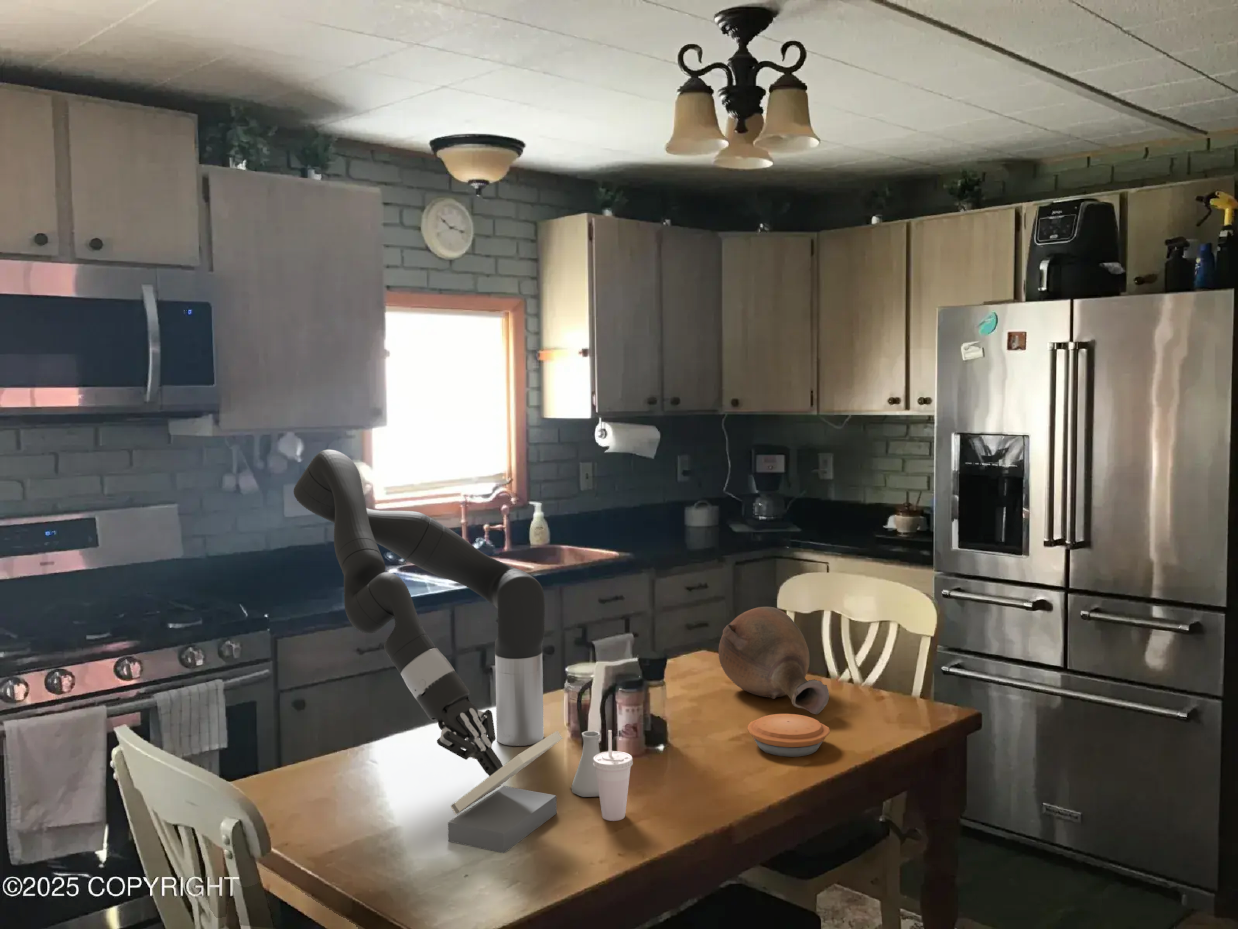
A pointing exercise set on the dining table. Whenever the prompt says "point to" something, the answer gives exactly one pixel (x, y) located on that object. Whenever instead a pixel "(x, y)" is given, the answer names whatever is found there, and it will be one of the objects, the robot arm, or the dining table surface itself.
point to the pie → (788, 734)
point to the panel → (506, 772)
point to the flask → (587, 767)
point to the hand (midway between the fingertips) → (497, 772)
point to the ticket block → (502, 819)
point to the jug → (770, 658)
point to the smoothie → (613, 781)
